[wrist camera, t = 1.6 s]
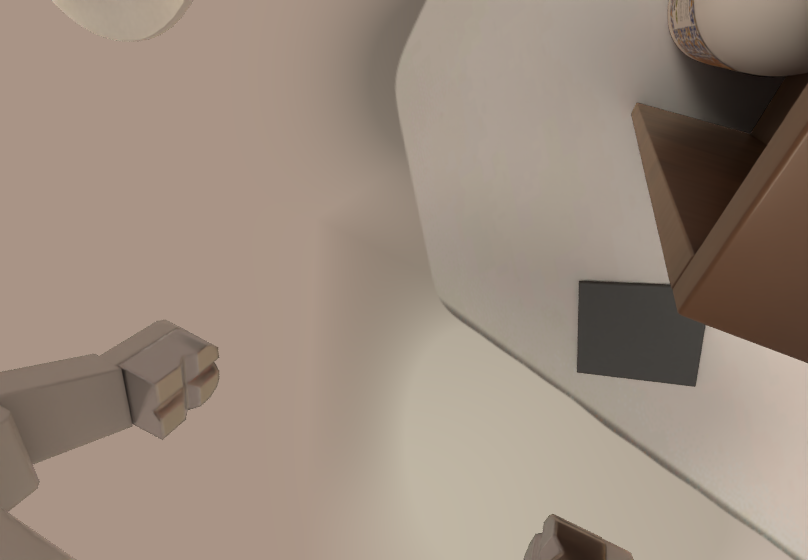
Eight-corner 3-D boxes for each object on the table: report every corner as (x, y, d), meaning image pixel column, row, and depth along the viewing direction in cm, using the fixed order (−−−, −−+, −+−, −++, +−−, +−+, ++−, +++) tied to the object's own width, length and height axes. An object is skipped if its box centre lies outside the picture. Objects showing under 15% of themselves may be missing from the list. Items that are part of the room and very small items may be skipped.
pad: (577, 369, 40) (577, 372, 40) (579, 280, 36) (579, 282, 36) (694, 383, 36) (695, 386, 36) (710, 286, 33) (711, 288, 32)
